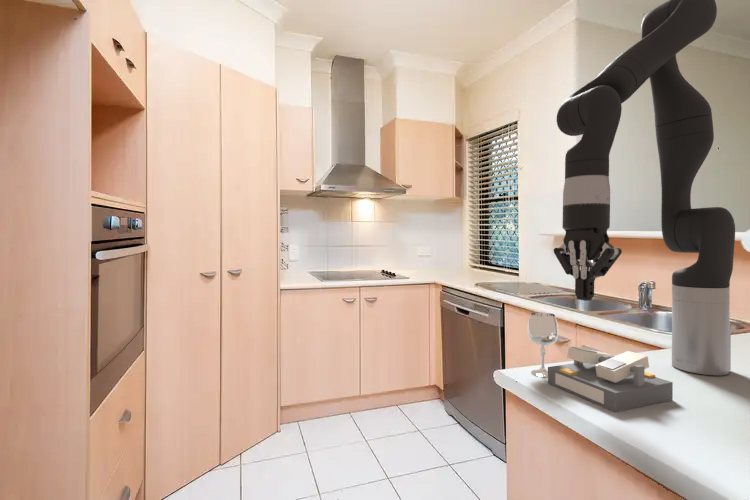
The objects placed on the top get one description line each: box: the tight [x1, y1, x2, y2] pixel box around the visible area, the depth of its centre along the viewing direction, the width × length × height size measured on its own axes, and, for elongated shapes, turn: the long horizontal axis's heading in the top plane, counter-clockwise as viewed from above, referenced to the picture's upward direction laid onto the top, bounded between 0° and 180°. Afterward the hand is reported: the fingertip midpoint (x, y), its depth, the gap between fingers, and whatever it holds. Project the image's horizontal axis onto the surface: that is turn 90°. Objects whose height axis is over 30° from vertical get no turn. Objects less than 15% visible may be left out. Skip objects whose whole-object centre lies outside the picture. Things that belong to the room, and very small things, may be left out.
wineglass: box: [526, 312, 559, 378], centre depth 80 cm, size 6×6×12 cm
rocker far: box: [595, 350, 650, 383], centre depth 68 cm, size 8×4×2 cm, turn 110°
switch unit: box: [547, 346, 674, 413], centre depth 70 cm, size 13×14×6 cm
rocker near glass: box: [566, 346, 616, 364], centre depth 73 cm, size 8×4×2 cm, turn 110°
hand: (584, 299), depth 71 cm, fingers closed
